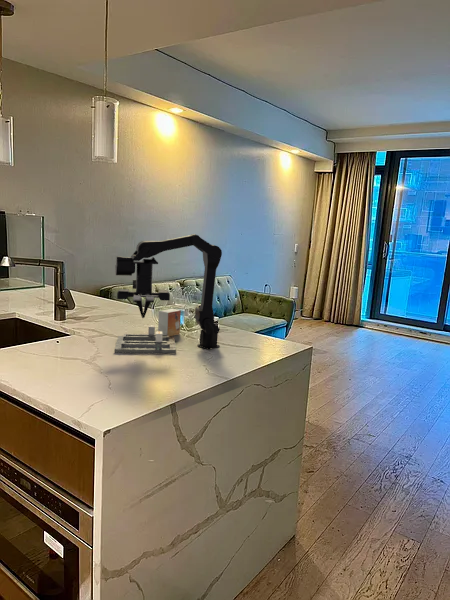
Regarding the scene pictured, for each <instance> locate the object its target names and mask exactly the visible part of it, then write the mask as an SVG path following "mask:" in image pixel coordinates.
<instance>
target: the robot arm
mask: <svg viewBox="0 0 450 600" xmlns="http://www.w3.org/2000/svg"><path fill="white" fill-rule="evenodd" d="M192 246H193V247H195V248H196V249H197V250H198V251H200V252H201V253H202V260H203V261H202V262H203V264H204V265H203V267H204V272H203V273H204V274H203V280H202V290H201V291H202V293H201V300H200V305H199V307H195V313H194V314H195V315H194V317H193V318H194V319H195V322H196V324H197V325H198V326H199V327H200V334H199V343H198V344H197V347H200V348H204V349H206V350H212V349H217V348H220V346H221V345H219V344H218V339H219V338H218V334H219V332H220V330H221V329H220V327H219V326H218V325H217V324H216V323H215V314H214V313H215V312H214V309H213V302H214V301H213V300H214V292H215V284H216V275H217V274H216V272H217V268H218V266H219V264H220V262H221V259H222V255H223V251H222V249H221V247H220V246H218V245H214V244H211V243H210V242H208V241H206V240H205V239H203V238H202V237H200V235H198V234H195V233H191V234H189V235H183V236H179V237H175V238H174V237H173V238H169V239H164V240H141V241H139V242H138V243H137V244H136V247H135V248H136V249H135V251H134V252H133V253H132V254H131V256H121V255H120V256H118V255H117V256H116V258H115V259H116V260H115V265H114V270H115V271H114V272H115V276H118V277H119V276H121V277H122V276H123V277H125V276H126V277H127V276H128V277H132V275H133V274H136V276H135V277H136V278H135V279H132V290H135V291H130V289H126V288H125V289H124V288H123V289H122V288H121V289H120V288H119V289H118V290H117V293H116V294H117V295H116V296H117V297H116V299H117V300H127V299H128V298H133V303H136V305H137V307H138V309H139V312H140V316H141V318H142V319H144V318H145V317H146V314H147V312H148V309H149V308H150V306H151V303H154V302H155V298H157V299H159V300H160V301H167V302H169V301H170V299H171V297H170V296H171V294H170V293H171V292H169V290H160V289H159V290H158V292H153V269H154V268H153V266H154V265H158V264H159V262H158V261H157V259H155V257H154V256H157V255H159V254H161V253H162V252H167V251H171V250H176V249H182V248H187V247H192ZM141 260H142V261H141ZM143 298H145V301H144V306H143ZM143 307H144V308H143Z"/></svg>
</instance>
